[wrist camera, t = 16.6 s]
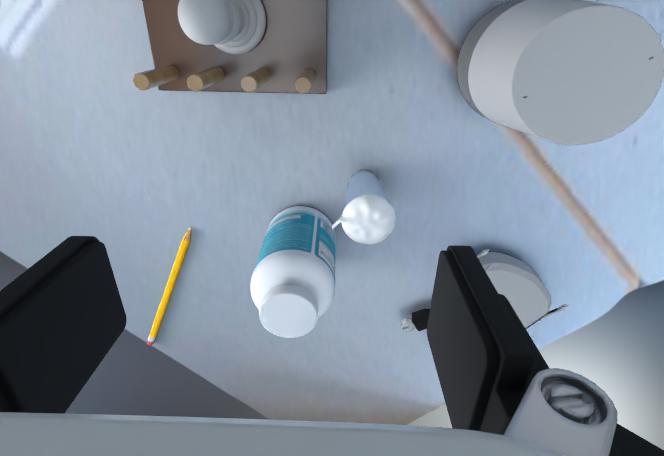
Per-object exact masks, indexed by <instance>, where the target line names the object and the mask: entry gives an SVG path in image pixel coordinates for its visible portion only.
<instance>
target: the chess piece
mask: <svg viewBox="0 0 664 456" xmlns="http://www.w3.org/2000/svg"><path fill="white" fill-rule="evenodd" d="M178 19H179V23H180V25H181V28H182V29H183V31H184V33H185V34H186V35H187V36H188V37H189V38H190V39H191V40H193V41H195V42H197V43H199V44H204V45H212V44H214V45H215V46H216V47H217V48H219V49H220V50H222V51H224V52H227V53H230V54H243V53H246V52H249V51H251V50H252V49H254V48H255V47H256V46H257V45H258V44H259V42H260V41H261V39H262V37H263V34H264V31H265V25H266V17H265V11H264V8H263V5H262V2H261V1H260V0H180V1H179V4H178Z"/></svg>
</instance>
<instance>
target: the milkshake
mask: <svg viewBox="0 0 664 456" xmlns="http://www.w3.org/2000/svg"><path fill="white" fill-rule="evenodd" d="M341 221H342V226H343V229H344V231H345V233H346V234H347V235H348V236H349V237H350V238H351V239H352V240H354V241H356V242H359V243H364V244H376V243H379V242H381V241H383V240H384V239H385V238H386V237H387V236H388V235H389V234H390V233H391V232H392V231H393V229H394V226H395V221H396V216H395V212H394V209H393V207H392V205H391V203H390V202H389V200H388V198H387V196H386V194H385V192H384V189H383V187H382V185H381V183H380V181H379V179H378V177H377V176H375V175H374V174H373V173H372V172H371V171H362V170H360V171H359V172H357V173H355V174H353V175H352V176H351V178H350V180H349V182H348V185H347V191H346V198H345V205H344V209H343V214H342V216H341V217H340V218H339V219H338V220H337V221H336V222H335V223H334V224H333V225H332V229H331V230H333V229H334V228H335V227H336V226H337V225H338V224H339V223H340V222H341Z"/></svg>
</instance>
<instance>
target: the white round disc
mask: <svg viewBox="0 0 664 456" xmlns="http://www.w3.org/2000/svg"><path fill="white" fill-rule="evenodd" d="M488 251H489V249H485V250H483V251H481V253H479V254H478V255H476V256H477V258H478V259H479V261H480V263H481V265H482V266H483V268H484V270H485V271H486V273H487V275H488V277H489V278H490V280H491V282H492V284H493V285H494V287H495V289H496V290H497V292H498V294H502V295H505V297H506V298H507V299H508V301H509V302H510V304H511V306H512V307H513V309H514V311H515V312H516V314H517V316H518V317H519V319H520V321H521V322H522V324H523V326H524V327H525V329H527V328H528V327H530V326H531V325H533V324H534V323H536V322H538V321H540V320H541V318H544V317H546V316H549V315H551V314H553V313H556V312H558V311H561V310H565V309H567V308H568V307H569V305H566V304H564V305H562V306H561V307H559V308H557V309H554V310H552V311H549V312H548V310H549V308H550V306H551V304H552V302H551V295H550V293H549V291H548V290H547V288H546V287H545V285H544V283H543V282H542V280H541V279H540V277H539V276H538V275H537V274H536V273H535V272H534V271H533V269H532V268H531V267H530V266H529V265H528V264H526V263H524V262H522V261H520V260H518V259H515V258H513V257H511V256H508V255H505V254H502V253H492V252H488ZM429 312H430V309H422V310H419V311H417V312H414V313H412V318H405V319H403V320H402V321H401V327H403V330H404V331H406V332H408V331H412V330H413V329H414V328H415V327H416V329H417V330H418V331H421V330H424V329H427V324H428V318H429Z"/></svg>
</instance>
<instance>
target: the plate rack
mask: <svg viewBox="0 0 664 456" xmlns="http://www.w3.org/2000/svg"><path fill="white" fill-rule="evenodd" d="M142 1H143V7H144V12H145V17H146V23H147V28H148V34H149V39H150V45H151V50H152V55H153V61H154V66H155V69H153V70H149V71H145V72H141V73H137V74H135V75H134V78H133V82H134V85H135V86H136V87H137V88H138V89H140V90H147V89H150V88H153V87H156V86H158V88H159V90H170V91H216V92H263V93H302V94H305V93H309V94H326V91H327V0H260V1H261V2H262V5H263V8H264V11H265V17H266V25H265V31H264V34H263V37H262V39H261V41H260V42H259V44H258V45H257V46H256V47H255V48H254V49H252V50H251V51H249V52H246V53H243V54H230V53H227V52H224V51H222V50H220V49H219V48H217V47H216V46H215V45H214V44H212V45H204V44H199V43H197V42H195V41H193V40H191V39H190V38H189V37H188V36H187V35H186V34H185V33H184V31H183V29H182V28H181V25H180V23H179V19H178V4H179V1H180V0H142Z"/></svg>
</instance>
